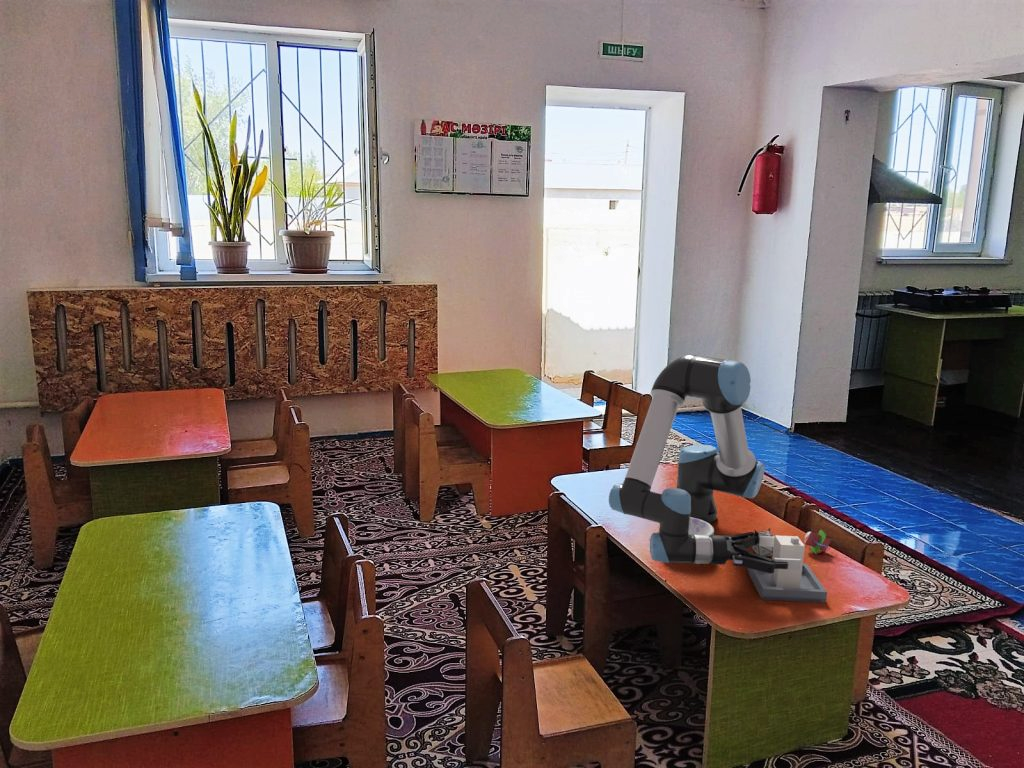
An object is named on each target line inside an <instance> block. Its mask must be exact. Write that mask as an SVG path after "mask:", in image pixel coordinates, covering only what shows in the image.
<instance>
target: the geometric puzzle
mask: <svg viewBox="0 0 1024 768" xmlns="http://www.w3.org/2000/svg"><path fill="white" fill-rule="evenodd" d="M803 540H804V545H806V546H808V547H809V550H811V551H812V552H813V553H814V555H818V552H820V554H823V553H826V552H827V551H828V550H830V549H831V546H830V544H831V542H832V538H830V536H828V534H827V533H825V531H823V529H822V528H819V529H818V532H817V531H814V530H813V531H807V532H806V534H805V535H804V538H803ZM819 550H820V551H819ZM823 551H824V552H823Z"/></svg>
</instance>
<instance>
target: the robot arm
mask: <svg viewBox="0 0 1024 768" xmlns="http://www.w3.org/2000/svg"><path fill="white" fill-rule="evenodd" d="M750 374H751V373H750V371H749V369H748V367H747V365H746V364H745V363H743V362H740V361H736V360H733V359H730V358H729V359H725V358H717V357H716V358H715V357H708V356H700V355H694V354H687V355H682V356H680V357H678V358H675V359H674V360H672V361H671V362H670V363H669V364H668V365H666V366H665V367H664V368H663V370H661V372H660V373H659V375H658V376H657V377H656V379H655V381H654V383H653V385H652V387H651V391H650V396H651V402H650V404H649V407H648V409H647V413H646V415H645V419H644V422H643V424H642V428H641V431H640V433H639V437H638V439H637V442H636V445H635V448H634V451H633V453H632V457H631V459H630V463H629V466H628V468H627V471H626V473H625V477H624V480H623V483H615V484H613V486H612V488H611V489H610V492H609V494H608V504H609V507H610V508H611V510H613V511H616V512H618V513H622V514H623V515H629V516H633V517H636V518H640V519H644V520H647V521H651V522H655V523H658V524H659V530H658V531H657V532H653V533H651V535H650V539H649V555H650V558H651V560H652V561H653V562H660V563H667V564H670V563H676V564H677V563H678V564H681V563H682V564H683V563H684V564H685V563H686V564H695V565H698V566H699V565H700V564H704V565H705V564H706V565H707V564H709V563H710V564H711V565H723V566H724V565H725V564H726V563H727V561H733V566H734V567H742V568H746V569H747V568H750V569H754V570H759V571H763V572H767V573H772V574H773V573H774V569H785V570H800V563H801V560H800V559H788V558H774V560H773V559H772V558H770V557H768V556H765V557H764V556H761V555H758V554H756V553H755V552H751V550H750V548H751V547H752V546H755V545H757V544H758V543H759V546H764V547H774V538H775V535H773V536H759V533H758V532H759V531H757V532H755V531H747V532H744V533H737V534H732V535H717V534H716V535H715V534H714V535H711V536H710V537H709V536H708V535H700V534H688V532H689V522H690V517H692V518H697V519H700V520H703V521H705V522H707V523H709V524H711V523H714V522H715V521H716V520H717V517H718V511H717V506H716V500H715V497H714V491H716V492H721V493H725V494H729V495H733V496H736V497H740V498H748V499H753V498H755V497H756V496H757V495H758V493H759V491H760V489H761V485H762V482H763V479H764V474H765V463H763V462H761V461H760V460H758V461H757V460H756V456H755V454H754V453H753V451H752V450H750V449H749V445H748V439H747V434H746V429H745V423H744V417H743V411H742V410H743V409H742V407H743V405H744V404H745V403H746V402H747V400H748V398H749V396H750V392H751V375H750ZM687 397H690V398H695V399H697V398H698V399H701V400H702V404H703V405H702V406H703V407H704V409H706V411H708V412H709V414H710V417H711V420H712V421H711V422H712V425H713V427H712V428H713V432H714V436H715V440H716V445H717V447H716V446H713V445H710V444H693V445H688V446H684V447H683V448H681V449H680V451H679V455H678V460H677V475H676V477H677V479H676V488H674V487H670V488H665V489H664V490H663V491H662V493H659V492H655V491H651V489H652V486H653V483H654V480H655V477H656V474H657V471H658V468H659V465H660V462H661V459H662V457H663V453H664V451H665V448H666V445H667V441H668V438H669V436H670V433H671V430H672V427H673V424H674V421H675V418H676V415H677V412H678V409H679V407H681V406H682V405H684V403H685V400H686V398H687Z"/></svg>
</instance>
